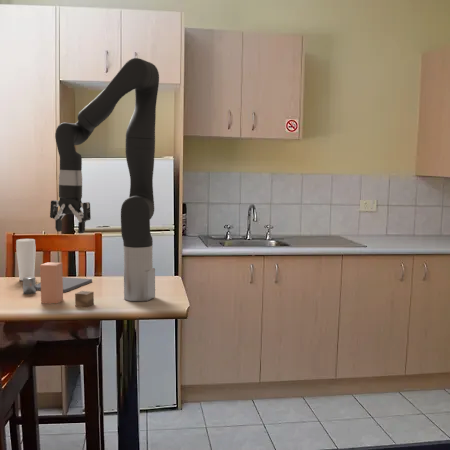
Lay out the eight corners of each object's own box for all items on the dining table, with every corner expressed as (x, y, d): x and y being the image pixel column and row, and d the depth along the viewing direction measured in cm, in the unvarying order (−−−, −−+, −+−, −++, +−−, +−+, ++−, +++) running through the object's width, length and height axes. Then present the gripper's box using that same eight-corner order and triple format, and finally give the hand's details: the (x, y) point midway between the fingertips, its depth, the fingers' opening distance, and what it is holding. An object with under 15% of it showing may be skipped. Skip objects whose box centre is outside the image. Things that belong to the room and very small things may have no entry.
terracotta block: (63, 299, 174) (62, 262, 173) (56, 303, 169) (55, 265, 168) (48, 299, 175) (47, 262, 174) (41, 303, 170) (40, 265, 169)
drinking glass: (16, 281, 200) (15, 241, 199) (18, 278, 207) (16, 238, 205) (35, 281, 202) (34, 240, 201) (37, 277, 209) (35, 238, 207)
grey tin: (38, 291, 185) (37, 277, 184) (31, 294, 181) (30, 279, 181) (28, 291, 186) (27, 276, 185) (20, 293, 182) (20, 278, 182)
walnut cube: (93, 304, 169) (93, 291, 169) (87, 307, 165) (86, 294, 165) (82, 303, 170) (82, 290, 170) (75, 306, 166) (75, 293, 166)
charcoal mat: (92, 281, 202) (92, 279, 201) (65, 292, 184) (64, 289, 184) (58, 279, 205) (58, 276, 205) (29, 289, 188) (29, 286, 188)
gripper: (95, 184, 183) (94, 232, 185) (59, 182, 188) (58, 229, 189) (82, 185, 176) (82, 235, 178) (45, 183, 181) (45, 231, 182)
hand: (70, 232), depth 184 cm, fingers open, 8 cm apart
